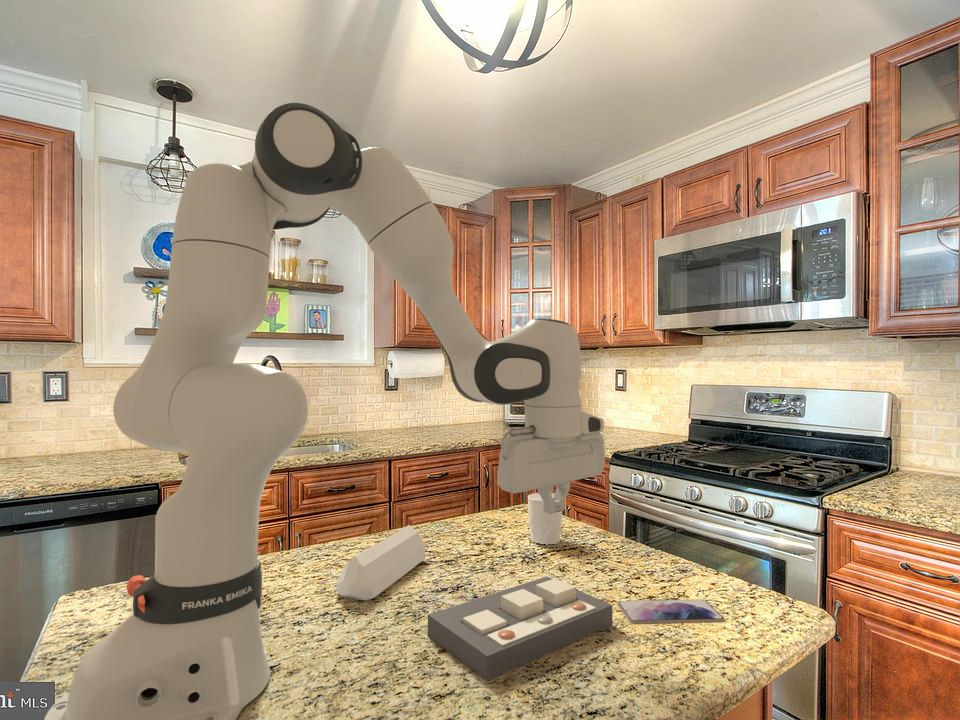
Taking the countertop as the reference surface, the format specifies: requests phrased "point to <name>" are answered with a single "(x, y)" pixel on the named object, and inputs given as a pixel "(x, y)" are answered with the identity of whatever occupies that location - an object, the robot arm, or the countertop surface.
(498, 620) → the button left
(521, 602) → the button middle
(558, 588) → the button right
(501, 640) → the button board
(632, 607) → the smartphone
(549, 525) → the white cup
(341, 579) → the beige chamfered bar
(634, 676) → the countertop surface
